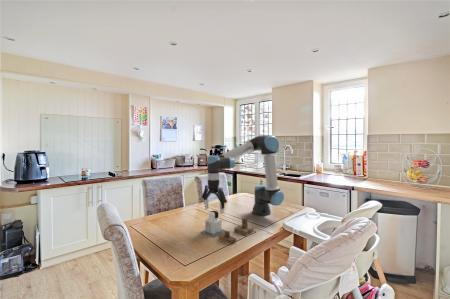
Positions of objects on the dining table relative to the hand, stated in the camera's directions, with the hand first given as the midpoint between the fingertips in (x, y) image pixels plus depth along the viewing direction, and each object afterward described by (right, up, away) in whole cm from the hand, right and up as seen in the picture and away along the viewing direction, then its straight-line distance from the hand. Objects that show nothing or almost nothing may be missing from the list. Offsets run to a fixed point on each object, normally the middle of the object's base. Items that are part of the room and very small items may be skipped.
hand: (214, 211), depth 140 cm
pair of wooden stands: (+15, -14, -5) cm, 21 cm away
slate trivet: (0, -14, 0) cm, 14 cm away
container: (0, -13, 0) cm, 13 cm away
